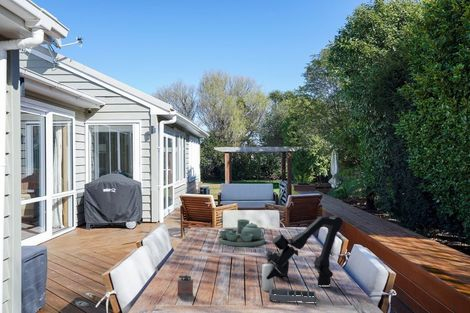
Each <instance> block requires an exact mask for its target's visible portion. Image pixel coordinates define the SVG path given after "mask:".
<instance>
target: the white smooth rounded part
mask: <svg viewBox="0 0 470 313" xmlns="http://www.w3.org/2000/svg"><path fill="white" fill-rule="evenodd" d="M272 266H274V265H273V264H267V263H263V264H262V266H261V268H262V269H261V290H262V291H265V292H270V289H274V277H273V278H271V279H267V276H268V275H269V273H270V272H271V271H272Z"/></svg>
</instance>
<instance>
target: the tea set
mask: <svg viewBox="0 0 470 313" xmlns="http://www.w3.org/2000/svg"><path fill="white" fill-rule="evenodd" d="M236 221H237V226H236V227H237V228H236V229H235V228H224V229H223V230H220V231H219V234H220V235H219V236H218V237H217V241H218V243H220V244H221V245H226V246H230V247H231V246H232V247H241V248H242V247H257V246H262V245H263V244H265V242H266V238H265V237H264V236H265V234H266V228H264V227H262V226H260V227H259V226H258V225H257V224H256V223H253V222H251V223H250V219H245V218H244V219H237V220H236ZM262 230H263V231H262ZM262 233H263V234H262Z"/></svg>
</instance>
